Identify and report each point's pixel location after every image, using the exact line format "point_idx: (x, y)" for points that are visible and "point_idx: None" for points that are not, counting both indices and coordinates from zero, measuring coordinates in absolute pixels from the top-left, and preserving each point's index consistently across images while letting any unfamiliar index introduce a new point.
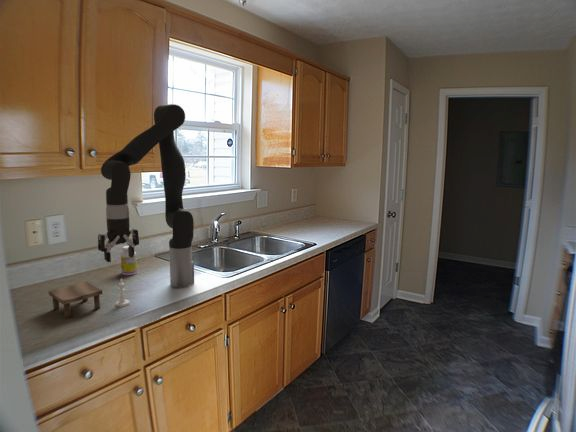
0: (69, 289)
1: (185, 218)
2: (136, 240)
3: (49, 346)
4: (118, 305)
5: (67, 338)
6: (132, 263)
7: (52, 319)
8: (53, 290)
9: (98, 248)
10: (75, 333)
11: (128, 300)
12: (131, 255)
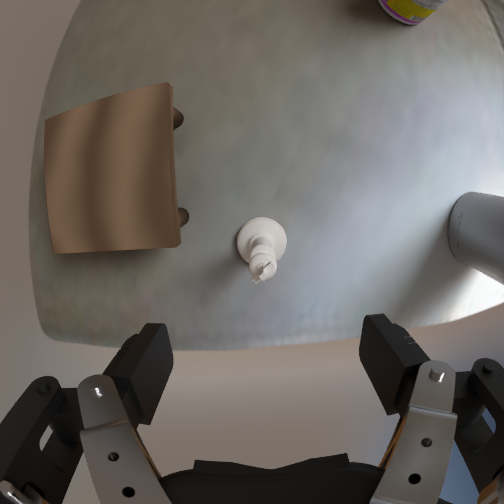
0: (86, 145)
1: None
2: (467, 449)
3: (65, 337)
4: (240, 253)
5: (89, 334)
6: (424, 6)
7: None
8: (54, 123)
9: (31, 396)
10: (102, 327)
11: (284, 245)
12: (363, 365)
